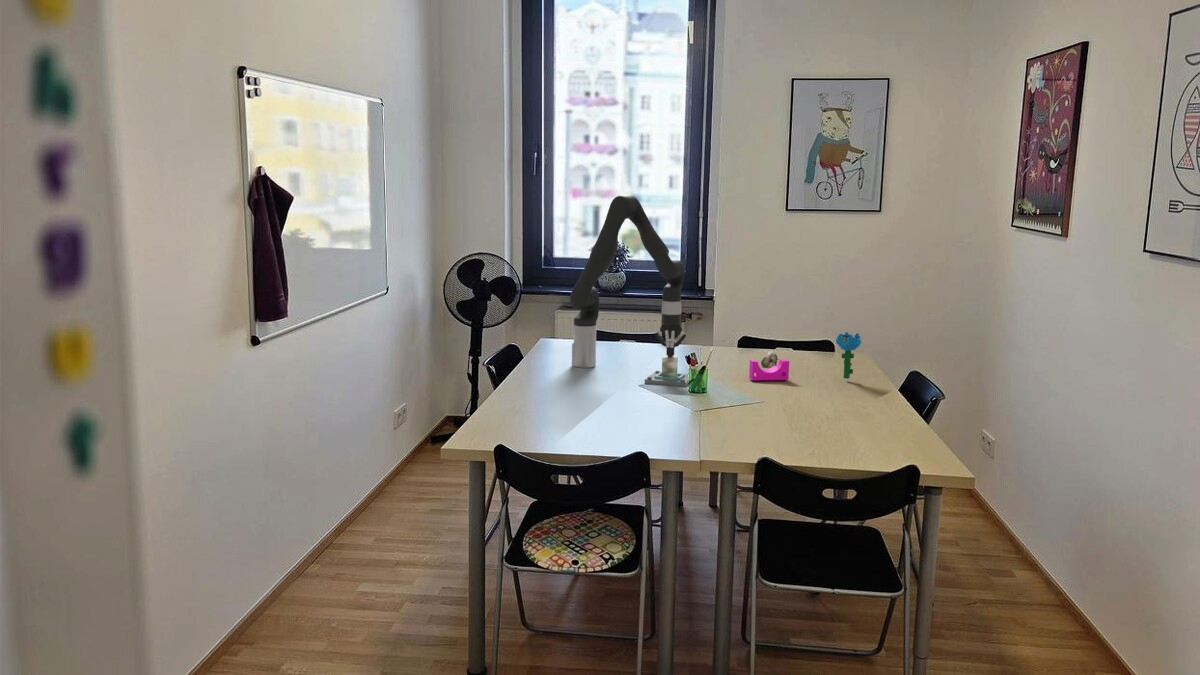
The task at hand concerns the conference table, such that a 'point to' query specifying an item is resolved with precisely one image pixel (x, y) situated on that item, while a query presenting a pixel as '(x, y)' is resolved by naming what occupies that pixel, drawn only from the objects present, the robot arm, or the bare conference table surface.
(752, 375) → the toy block
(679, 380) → the baseplate
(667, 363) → the beige block
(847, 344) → the toy flower
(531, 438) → the conference table surface
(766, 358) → the eagle figurine
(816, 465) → the conference table surface
